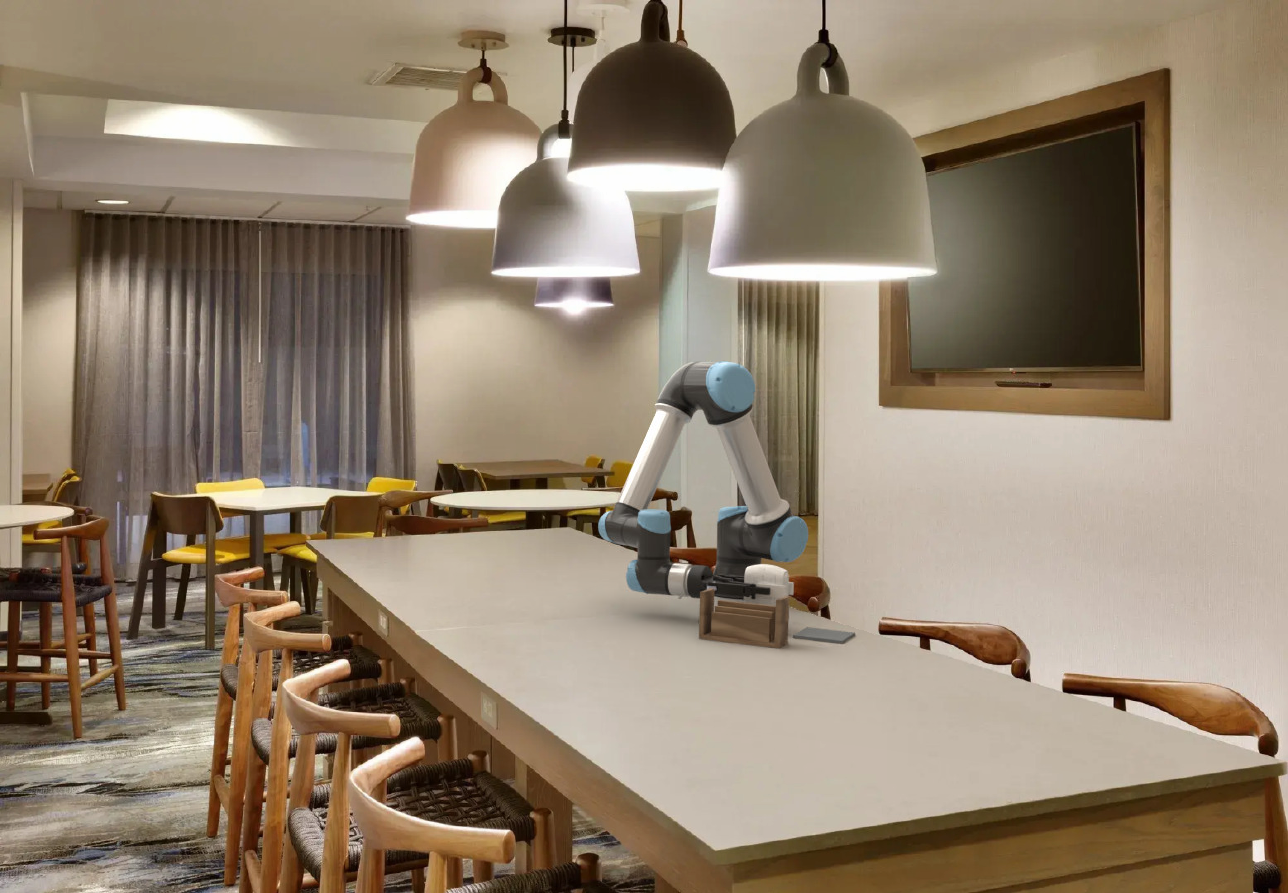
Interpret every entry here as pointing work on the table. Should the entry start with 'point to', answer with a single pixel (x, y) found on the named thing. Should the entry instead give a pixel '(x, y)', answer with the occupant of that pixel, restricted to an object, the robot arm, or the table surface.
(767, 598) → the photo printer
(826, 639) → the pad
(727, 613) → the offcut rack
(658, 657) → the table surface
